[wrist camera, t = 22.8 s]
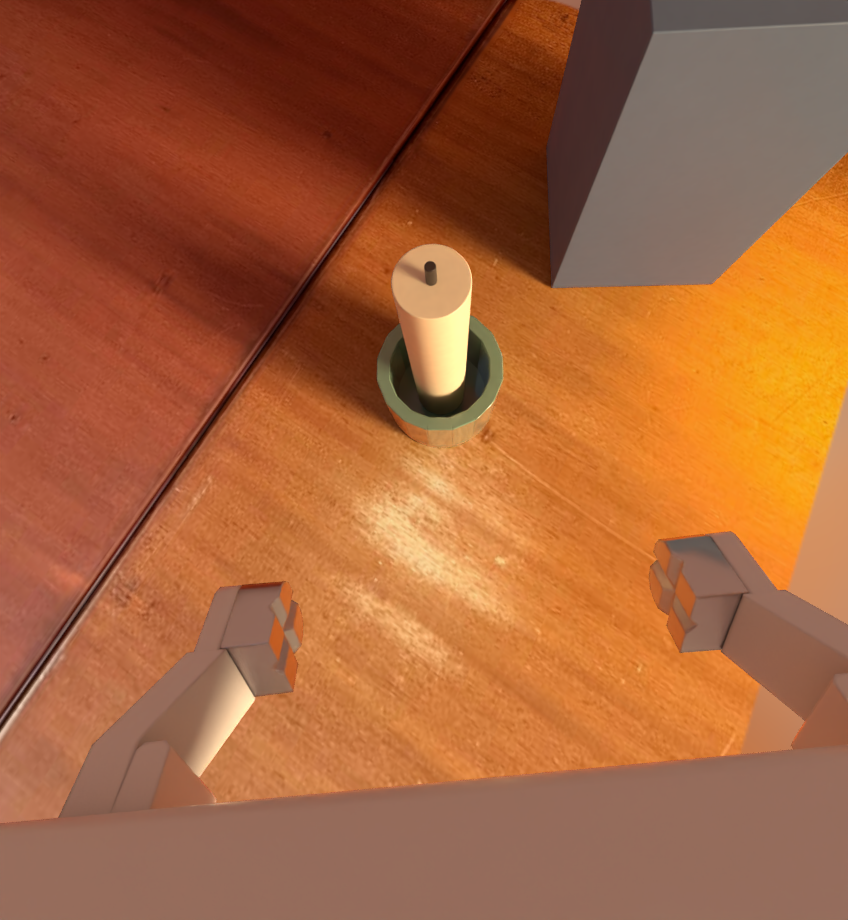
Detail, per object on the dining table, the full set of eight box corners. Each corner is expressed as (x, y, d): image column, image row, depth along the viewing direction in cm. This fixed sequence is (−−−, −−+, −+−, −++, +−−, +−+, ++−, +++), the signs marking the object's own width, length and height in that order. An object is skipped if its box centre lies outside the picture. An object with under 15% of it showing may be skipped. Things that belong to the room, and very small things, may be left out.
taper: (457, 365, 32) (460, 216, 17) (469, 407, 31) (483, 293, 17) (413, 377, 32) (377, 239, 17) (424, 419, 31) (399, 316, 17)
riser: (700, 141, 34) (942, -246, 17) (712, 284, 32) (989, 15, 16) (546, 147, 34) (634, -222, 18) (550, 288, 33) (652, 32, 16)
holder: (493, 344, 33) (501, 306, 27) (495, 447, 32) (504, 429, 26) (390, 346, 33) (377, 309, 28) (388, 448, 32) (375, 430, 27)
